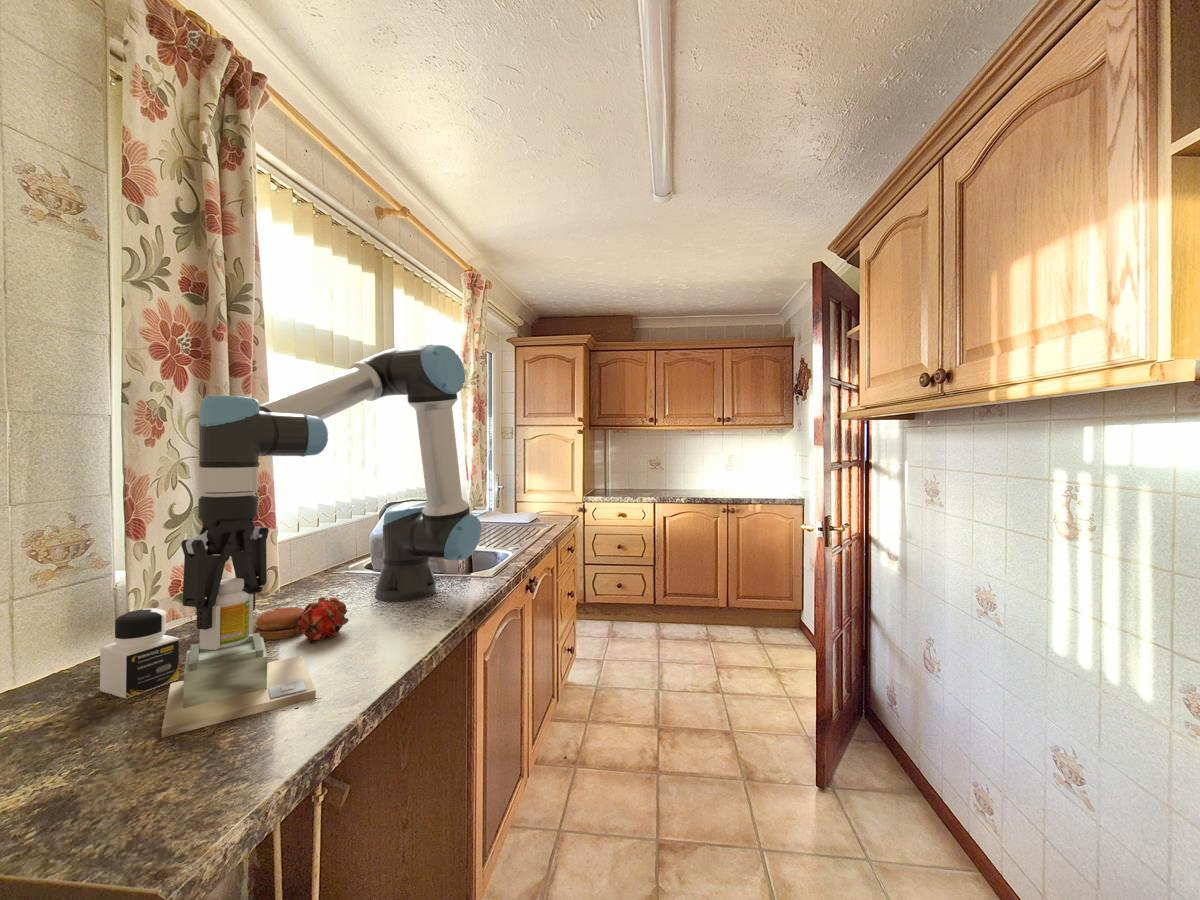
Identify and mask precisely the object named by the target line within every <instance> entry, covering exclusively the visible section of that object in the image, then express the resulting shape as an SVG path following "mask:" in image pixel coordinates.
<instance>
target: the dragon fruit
mask: <svg viewBox="0 0 1200 900" xmlns="http://www.w3.org/2000/svg"><path fill="white" fill-rule="evenodd" d="M347 612H348V609H347V605H346V604H345V603H344V602H343V601H341V600H339V598H337V597H335V596H334V597H330V598H328V599H326V598H325V597H324V596H323V597H319V598H318V601H317V602H312V603H308V604H306V606H305V608H304V611H303V613H302V614H301V615H300V617H299V619H298V623H299V631H302V633H301V634H303V635H304V636H305V637H306V638H307V641H308V643H309V644H311V643H313V642H318V641H320V640H323V639H325V637H326V636H328V637H329V638H332V639H333V638H334V637H335V636H337V635H338V634H339V633H340V630H341V629H342V628H343V627H344V625H346V624H347V623H348V622H349V618H348V617H345V616H346V614H347Z"/></svg>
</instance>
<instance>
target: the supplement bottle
mask: <svg viewBox="0 0 1200 900" xmlns="http://www.w3.org/2000/svg"><path fill="white" fill-rule="evenodd" d="M243 588H244V579H242V578H236V577H233V578H231V577H230V578H225V579H223V578H222V579H221V582H220V586H219V591H218V595H217V599H216V603H215V605H220V648H226V647H231V646H235V645H238V644H241V643H243V642H245V641H246V640H247V639H248V638H249V595H248V593H246V592H244V591H242V589H243Z"/></svg>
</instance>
